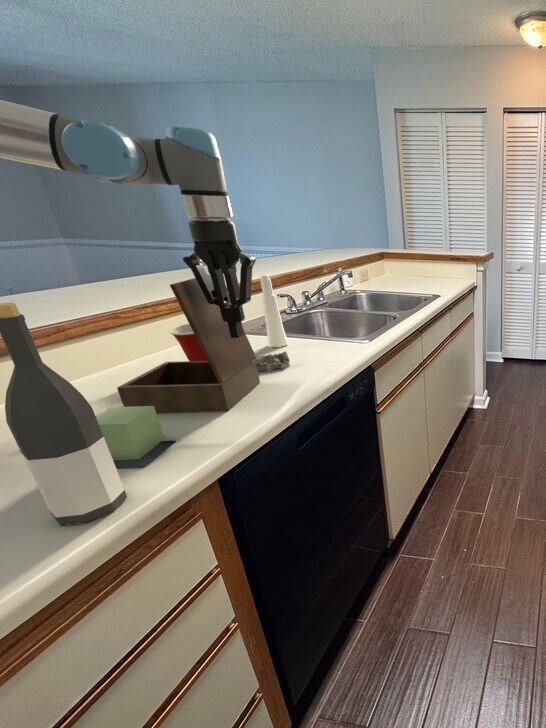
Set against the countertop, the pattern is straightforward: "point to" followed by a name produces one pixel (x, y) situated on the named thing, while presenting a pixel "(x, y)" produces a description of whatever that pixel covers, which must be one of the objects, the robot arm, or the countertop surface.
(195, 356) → the plastic cup
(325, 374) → the countertop surface
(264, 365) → the grey rock
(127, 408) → the cube
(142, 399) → the chest
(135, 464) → the mat
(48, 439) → the wine bottle
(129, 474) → the countertop surface
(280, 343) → the white tapered tower
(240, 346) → the lid
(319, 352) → the countertop surface
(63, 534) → the countertop surface
